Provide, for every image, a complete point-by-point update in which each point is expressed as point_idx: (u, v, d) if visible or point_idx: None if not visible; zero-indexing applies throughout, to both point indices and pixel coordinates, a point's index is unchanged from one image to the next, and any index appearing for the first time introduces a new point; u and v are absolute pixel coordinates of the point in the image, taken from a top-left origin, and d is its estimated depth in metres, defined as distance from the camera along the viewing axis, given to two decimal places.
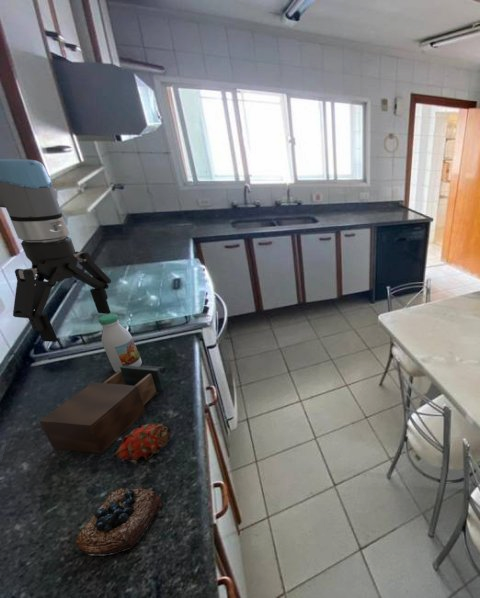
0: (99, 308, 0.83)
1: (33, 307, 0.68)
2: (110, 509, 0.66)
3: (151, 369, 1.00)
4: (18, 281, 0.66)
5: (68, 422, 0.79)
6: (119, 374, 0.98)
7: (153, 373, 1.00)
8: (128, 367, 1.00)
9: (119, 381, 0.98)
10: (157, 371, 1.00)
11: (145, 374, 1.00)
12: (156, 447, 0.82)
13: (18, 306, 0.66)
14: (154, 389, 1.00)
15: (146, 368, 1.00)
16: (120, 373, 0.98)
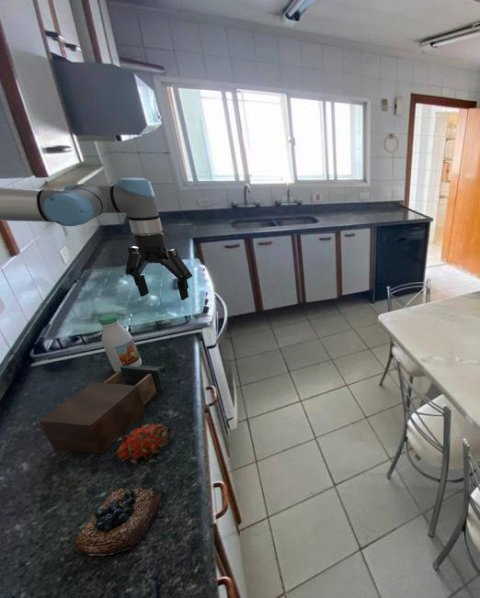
0: (143, 291, 1.07)
1: None
2: (110, 509, 0.66)
3: (151, 369, 1.00)
4: (174, 258, 1.01)
5: (68, 422, 0.79)
6: (119, 374, 0.98)
7: (153, 373, 1.00)
8: (128, 367, 1.00)
9: (119, 381, 0.98)
10: (157, 371, 1.00)
11: (145, 374, 1.00)
12: (156, 447, 0.82)
13: (185, 271, 1.03)
14: (154, 389, 1.00)
15: (146, 368, 1.00)
16: (120, 373, 0.98)
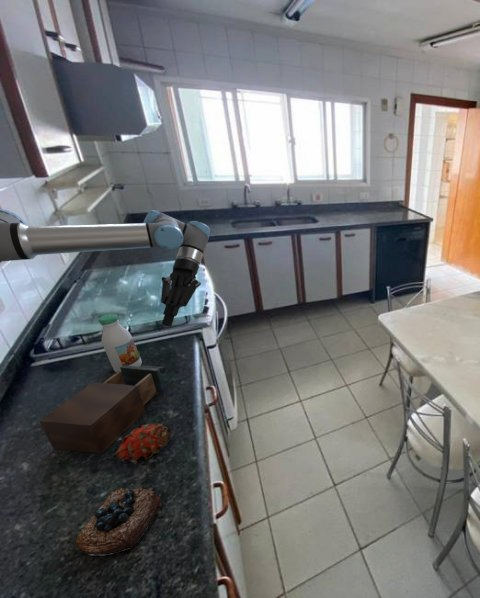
0: None
1: None
2: (110, 509, 0.66)
3: (151, 369, 1.00)
4: (192, 286, 1.14)
5: (68, 422, 0.79)
6: (119, 374, 0.98)
7: (153, 373, 1.00)
8: (128, 367, 1.00)
9: (119, 381, 0.98)
10: (157, 371, 1.00)
11: (145, 374, 1.00)
12: (156, 447, 0.82)
13: (186, 299, 1.13)
14: (154, 389, 1.00)
15: (146, 368, 1.00)
16: (120, 373, 0.98)
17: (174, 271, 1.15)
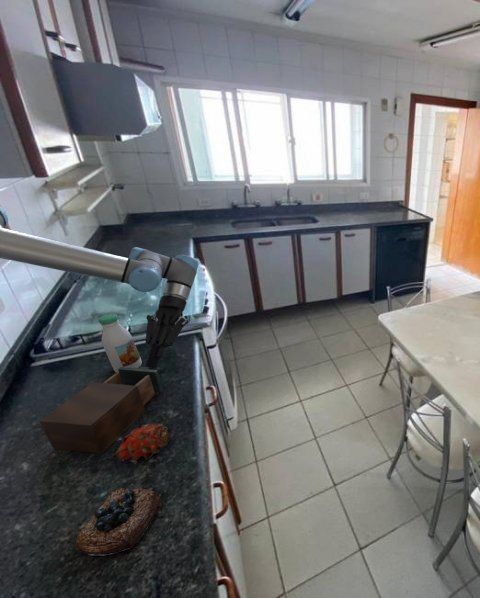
0: None
1: None
2: (110, 509, 0.66)
3: (149, 371, 0.99)
4: (179, 325, 1.09)
5: (68, 422, 0.79)
6: (117, 376, 0.97)
7: (151, 374, 0.99)
8: (126, 369, 0.99)
9: (117, 383, 0.98)
10: (156, 373, 0.99)
11: (143, 376, 1.00)
12: (156, 447, 0.82)
13: (172, 339, 1.08)
14: (152, 391, 1.00)
15: (144, 370, 0.99)
16: (118, 375, 0.98)
17: (160, 308, 1.10)
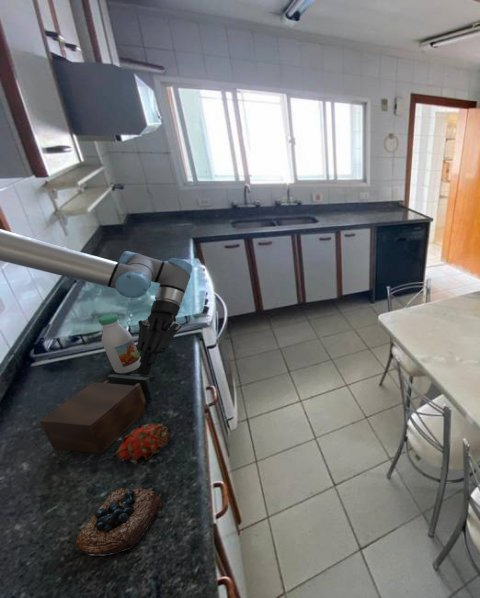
0: None
1: None
2: (110, 509, 0.66)
3: (140, 378, 0.96)
4: (172, 330, 1.06)
5: (68, 422, 0.79)
6: None
7: (142, 382, 0.96)
8: (116, 376, 0.96)
9: None
10: (147, 381, 0.96)
11: (134, 383, 0.96)
12: (156, 447, 0.82)
13: (164, 345, 1.04)
14: (143, 399, 0.96)
15: (135, 377, 0.96)
16: None
17: (152, 314, 1.07)
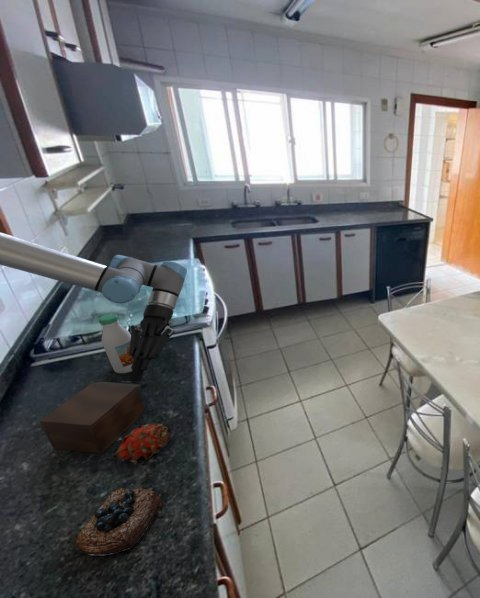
0: None
1: None
2: (110, 509, 0.66)
3: None
4: (165, 336, 1.03)
5: (68, 422, 0.79)
6: None
7: None
8: None
9: None
10: (138, 388, 0.93)
11: None
12: (156, 447, 0.82)
13: (157, 351, 1.01)
14: None
15: None
16: None
17: (145, 318, 1.04)
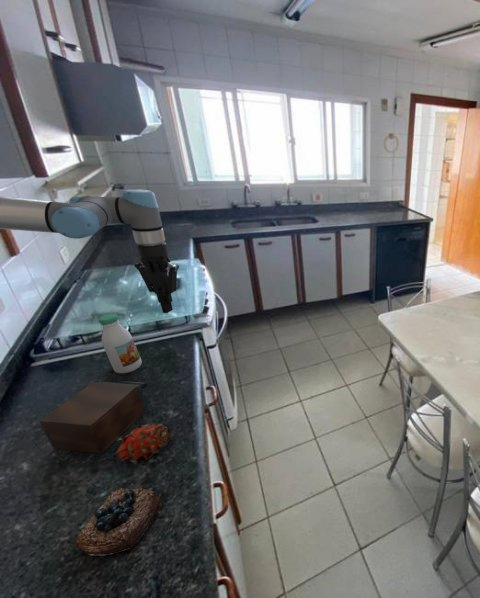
0: None
1: None
2: (110, 509, 0.66)
3: None
4: (172, 274, 1.03)
5: (68, 422, 0.79)
6: None
7: None
8: None
9: None
10: (138, 388, 0.93)
11: None
12: (156, 447, 0.82)
13: (173, 287, 1.06)
14: None
15: None
16: None
17: (143, 256, 1.01)
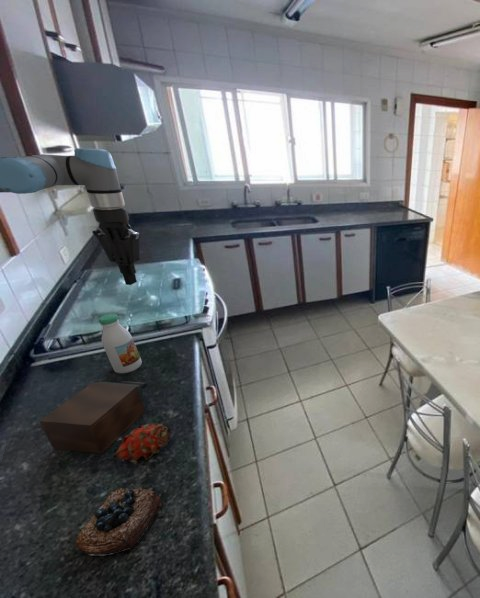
0: None
1: None
2: (110, 509, 0.66)
3: None
4: (133, 241, 0.97)
5: (68, 422, 0.79)
6: None
7: None
8: None
9: None
10: (138, 388, 0.93)
11: None
12: (156, 447, 0.82)
13: (135, 256, 1.00)
14: None
15: None
16: None
17: (101, 222, 0.95)
